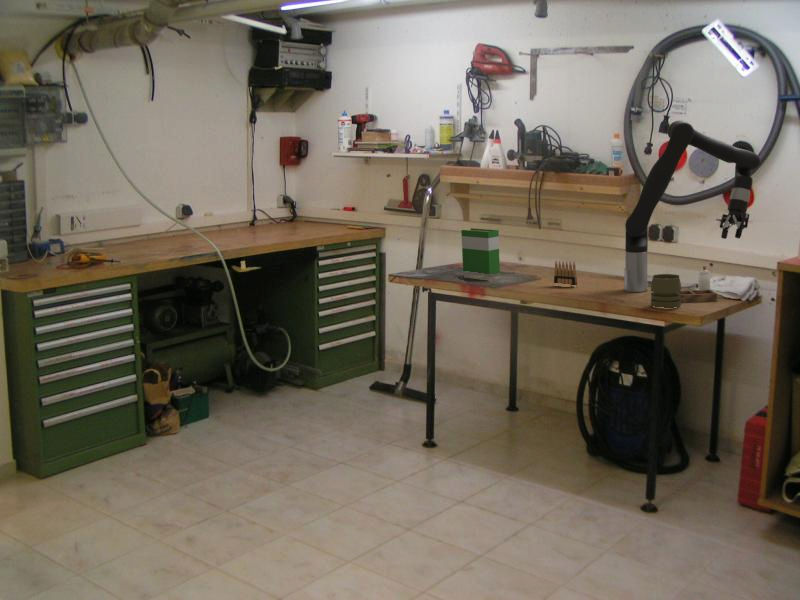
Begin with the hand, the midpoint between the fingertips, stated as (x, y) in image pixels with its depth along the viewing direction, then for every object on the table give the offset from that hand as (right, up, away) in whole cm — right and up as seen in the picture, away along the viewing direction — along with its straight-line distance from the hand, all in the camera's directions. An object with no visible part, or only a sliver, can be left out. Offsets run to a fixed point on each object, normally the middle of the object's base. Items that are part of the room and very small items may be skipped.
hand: (730, 238), depth 358 cm
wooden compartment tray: (-18, -26, -8) cm, 32 cm away
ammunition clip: (-62, -20, +33) cm, 73 cm away
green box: (-97, -15, +65) cm, 118 cm away
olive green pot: (-32, -28, -17) cm, 46 cm away
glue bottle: (-10, -23, +2) cm, 25 cm away
